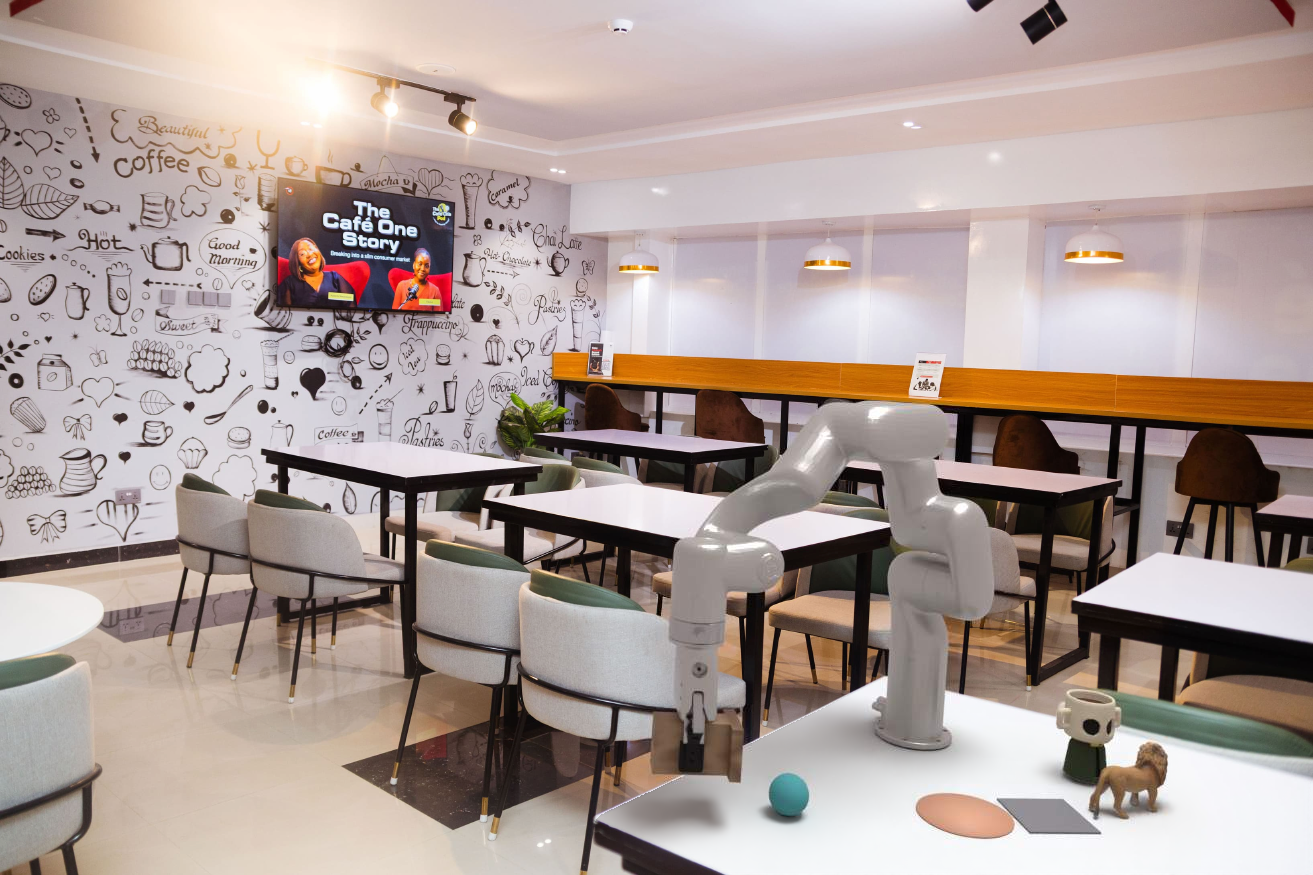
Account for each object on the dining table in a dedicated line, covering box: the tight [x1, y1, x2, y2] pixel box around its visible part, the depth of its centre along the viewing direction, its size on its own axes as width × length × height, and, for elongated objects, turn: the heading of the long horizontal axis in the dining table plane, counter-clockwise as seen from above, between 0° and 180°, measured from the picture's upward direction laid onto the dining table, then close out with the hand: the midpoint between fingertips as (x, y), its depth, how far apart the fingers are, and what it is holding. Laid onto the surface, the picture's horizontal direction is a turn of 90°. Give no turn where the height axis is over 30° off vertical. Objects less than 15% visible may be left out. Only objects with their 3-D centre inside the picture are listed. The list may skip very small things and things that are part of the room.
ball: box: [768, 772, 810, 817], centre depth 126 cm, size 6×6×6 cm
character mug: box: [1055, 688, 1122, 785], centre depth 143 cm, size 11×7×13 cm, turn 100°
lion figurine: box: [1088, 741, 1169, 820], centre depth 132 cm, size 15×5×9 cm, turn 121°
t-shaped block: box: [649, 708, 745, 784], centre depth 124 cm, size 12×8×7 cm
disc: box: [915, 792, 1015, 839], centre depth 128 cm, size 13×13×1 cm
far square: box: [996, 797, 1102, 835], centre depth 129 cm, size 10×10×1 cm
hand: (688, 762), depth 125 cm, fingers closed on t-shaped block, 4 cm apart
